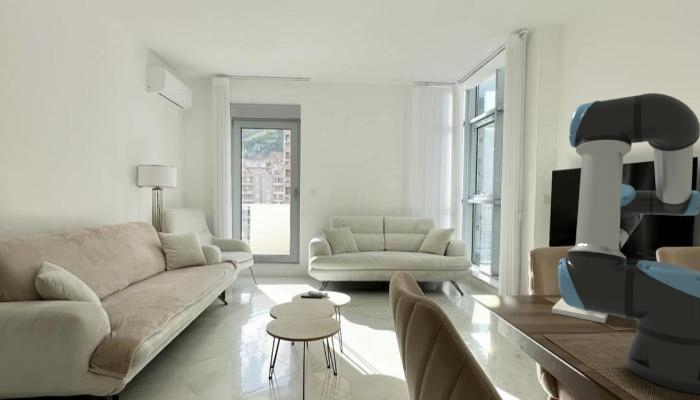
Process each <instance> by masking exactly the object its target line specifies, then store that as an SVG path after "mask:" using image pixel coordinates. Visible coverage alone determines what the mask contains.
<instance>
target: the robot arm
mask: <svg viewBox="0 0 700 400" xmlns="http://www.w3.org/2000/svg"><path fill="white" fill-rule="evenodd" d="M568 139H569V143H570V146H571V147H572V148H575V152H576V153H577V155H579V156H580V157H581V166H580V167H581V169H580V179H579V180H580V181H579V182H580V183H579V194H578V196H579V197H578V209H577V222H576V223H577V224H576V235H575V238H576V239H575V245H574V246H573V247H572V248H570V249H568V250H567V257H563V258H560V259H559V261H558V266H557V280H558V288H559V292H560V295H561V298H562V299H563V300H564V302H565V303H566V304H567V305H569V306H571V307H575V308H580V309H584V310H585V311H594V312H599V313H604V314H608V315H611V316H616V317H621V318H626V319H633V320H636V332H635V334H634V337H633V338H632V341H631V342H630V345H629V347H628V349H627V351H626V354H625V355H626V356H625V365H626V366H625V367H627V368H628V370H630V371H631V372H632V373H633V374H635V375H636V376H638V377H640V378H642V379H644V380H645V381H648V382H651V383H653V384H656V385H659V386H662V387H665V388H668V389H671V390H674V391H675V390H676V391H679V392H683V393H689V394H694V395H700V271H699V270H695V269H692V268H690V267H686V266H681V265H676V264H674V263H667V262H663V261H656V260H653V261H652V260H645V259H643V260H642V259H641V260H638V261H637V263H636V266H634V265H629V264H628V265H627V257H626V256H625V254H623V253H622V252H621V249H622V248H623V246H624V245H625V244H626V241H628V239H629V238H630V236H631V235H632V233H633V232H634V230H635V229H636V227H637V226H638V225H639V224H640V223H641V220H642V219H643V216H644V215H654V216H655V215H658V216H659V215H660V216H679V217H683V216H696V215H698V214H699V213H700V191H698V190H692V182H693V181H692V180H693V179H692V178H693V161H694V160H693V159H694V158H693V157H694V145H695V144H696V143H697V142H698V141H699V139H700V122H699V118H698V117H697V115H696V114H695V112H694V111H693V110H692V109H691V107H689V106H688V105H687V104H686V103H684V102H683V101H682V100H680V99H678V98H676V97H674V96H671V95H668V94H664V93H656V92H655V93H654V92H651V93H641V94H637V95H632V96H630V95H629V96H625V97H624V96H623V97H618V98H611V99H606V100H605V99H604V100H595V101H592V102H588V103H582V104H580V105H579V106H577V107H576V108H575V110H574V111H573V113H572V117H571V120H570V123H569V138H568ZM635 143H636V144H638V143H648V145H649V146H650V147H651V148H653V162H654V164H653V165H654V178H655V190H635V188H634V187H633V186H631V185H629V184H626V183H623V171H624V170H623V169H624V166H623V165H624V156H626V155H628V154H629V153H631V151H632V144H635Z"/></svg>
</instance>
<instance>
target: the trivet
mask: <svg viewBox="0 0 700 400" xmlns="http://www.w3.org/2000/svg"><path fill="white" fill-rule="evenodd" d="M551 314H556V315H562V316H566V317H571V318H577V319H581V320H585V321H586V320H588V321H593V322H598V323H601V324H606V321H607V319H608V317H609V314H604V313H599V312H594V311H585V310H584V309H580V308H575V307H571V306H569V305H567V304H566V303H565V302H564V300H563V298H562V297H561V298H560V299H559V300H558V301H557V302H556V303H555V304H554V306H552V308H551Z"/></svg>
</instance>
